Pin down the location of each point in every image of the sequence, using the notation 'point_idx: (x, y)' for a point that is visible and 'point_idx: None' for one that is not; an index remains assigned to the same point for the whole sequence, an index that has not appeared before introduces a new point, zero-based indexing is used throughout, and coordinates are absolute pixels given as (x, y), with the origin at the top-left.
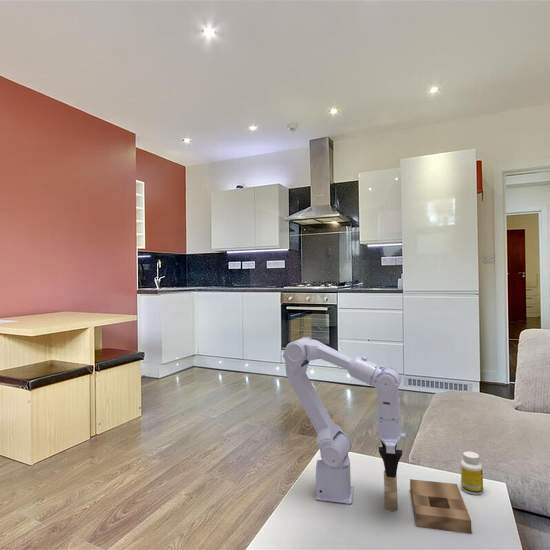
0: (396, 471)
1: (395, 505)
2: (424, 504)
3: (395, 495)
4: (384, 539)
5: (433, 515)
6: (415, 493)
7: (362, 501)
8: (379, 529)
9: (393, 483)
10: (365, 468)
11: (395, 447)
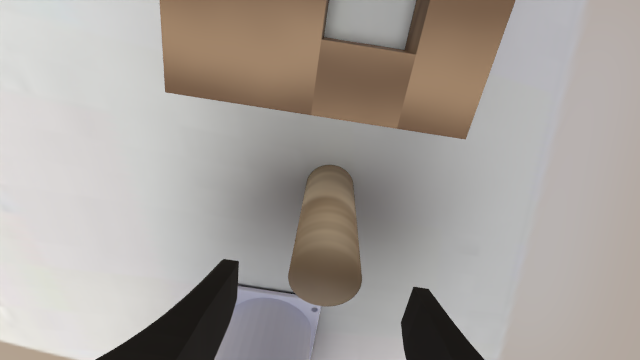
0: (449, 317)
1: (351, 184)
2: (397, 80)
3: (351, 202)
4: (500, 237)
5: (491, 61)
6: (301, 99)
7: None
8: (451, 242)
9: (357, 242)
10: (65, 227)
11: (192, 342)
